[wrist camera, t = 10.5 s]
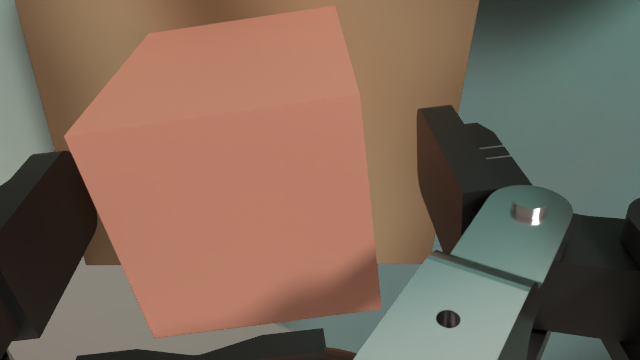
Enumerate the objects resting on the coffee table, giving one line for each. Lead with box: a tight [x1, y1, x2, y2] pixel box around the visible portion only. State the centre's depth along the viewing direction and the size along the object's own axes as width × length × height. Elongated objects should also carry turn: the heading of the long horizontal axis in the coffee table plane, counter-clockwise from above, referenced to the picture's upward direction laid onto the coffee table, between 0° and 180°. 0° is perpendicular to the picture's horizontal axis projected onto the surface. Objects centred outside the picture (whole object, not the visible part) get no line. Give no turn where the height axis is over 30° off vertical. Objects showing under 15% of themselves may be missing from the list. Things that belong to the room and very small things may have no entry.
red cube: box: [64, 6, 382, 338], centre depth 12 cm, size 5×5×6 cm
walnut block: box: [15, 0, 479, 265], centre depth 17 cm, size 12×12×5 cm
